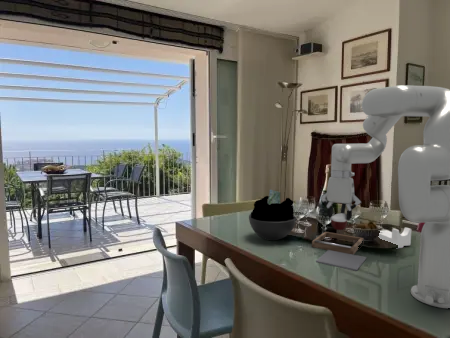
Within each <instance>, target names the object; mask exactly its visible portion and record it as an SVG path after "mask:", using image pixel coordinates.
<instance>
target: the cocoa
mask: <svg viewBox="0 0 450 338" xmlns="http://www.w3.org/2000/svg"><path fill="white" fill-rule="evenodd" d="M346 207H347V205H346V204H344V203H341V208H340V212H339V213H336V214H334V215H333V216H331V218H330V225H331V227H332V228H333V229H334V230H335V231H336V230H337V231H343V230H345V229H346V227H347V226H348V220H347V213H346Z"/></svg>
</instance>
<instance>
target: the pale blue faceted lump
mask: <svg viewBox="0 0 450 338" xmlns="http://www.w3.org/2000/svg"><path fill="white" fill-rule="evenodd" d="M268 196H270V197H269V198H268V199H267V200H268V201H267V202H268V204H269V205H270V204H271V203H279V204H280V203H281V192H280V191H276V190H273V189H269V193H268Z"/></svg>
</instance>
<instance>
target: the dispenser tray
mask: <svg viewBox="0 0 450 338" xmlns="http://www.w3.org/2000/svg"><path fill="white" fill-rule="evenodd" d="M325 237H331V238H337V239H345V240H358V241H357V242H356V243H353V245H352V246H350V245H345V244H338V243H333V242H328V241H321V240H323V239H324V238H325ZM362 241H363V242H364V237H359V236H352V235H346V234H342V233H341V234H340V233H335V232H329V231H324V232H323V233H322V234H320V235H318V236H317V237H316V238H314V239H313V240H312V241H311V247H312V248H314V249H315V248H316V249H319V250H326V251H328V250H332V251H337V252H342V253H347V254H352V255H355V254H356V252H357V251H358V250H359V249H360V248H359V247H358V246H359V245H360V244H361V243H362ZM358 248H359V249H358Z"/></svg>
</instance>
